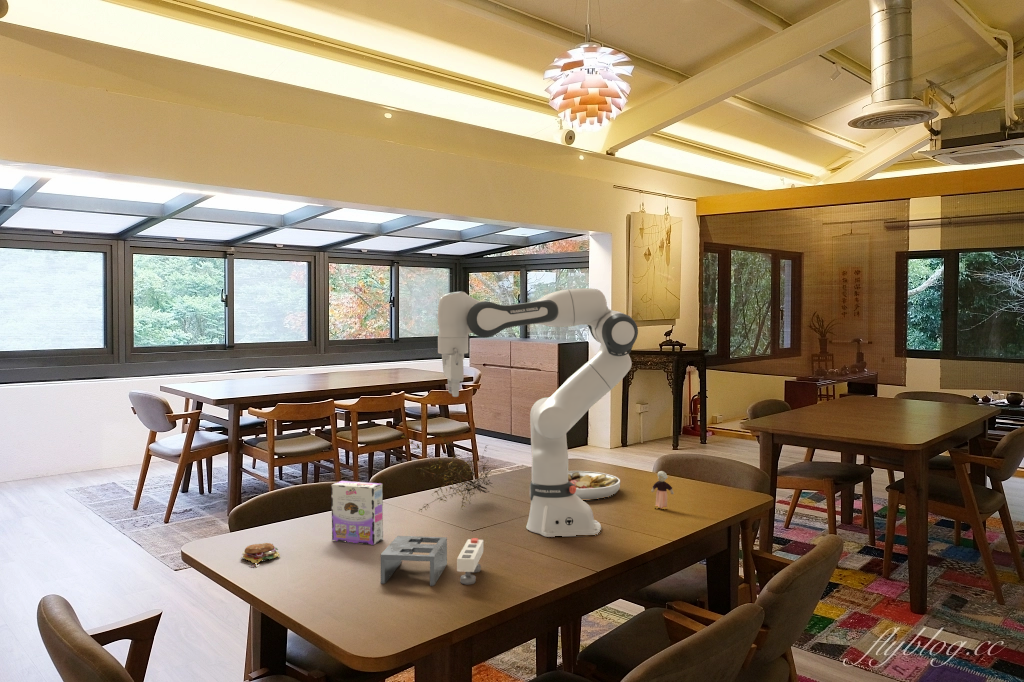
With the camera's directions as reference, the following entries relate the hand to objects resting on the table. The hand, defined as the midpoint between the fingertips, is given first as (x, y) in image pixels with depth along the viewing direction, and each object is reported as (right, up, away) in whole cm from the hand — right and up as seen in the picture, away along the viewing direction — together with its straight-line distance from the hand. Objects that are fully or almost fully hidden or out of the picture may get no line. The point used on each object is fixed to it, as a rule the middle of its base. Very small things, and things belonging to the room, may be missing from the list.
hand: (453, 394), depth 206 cm
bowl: (+42, -40, +54) cm, 79 cm away
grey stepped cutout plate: (-7, -42, -31) cm, 53 cm away
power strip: (+7, -42, -32) cm, 53 cm away
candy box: (-27, -42, -4) cm, 50 cm away
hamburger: (-49, -43, -21) cm, 68 cm away
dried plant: (0, -41, +23) cm, 47 cm away
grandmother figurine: (+67, -41, +30) cm, 84 cm away
